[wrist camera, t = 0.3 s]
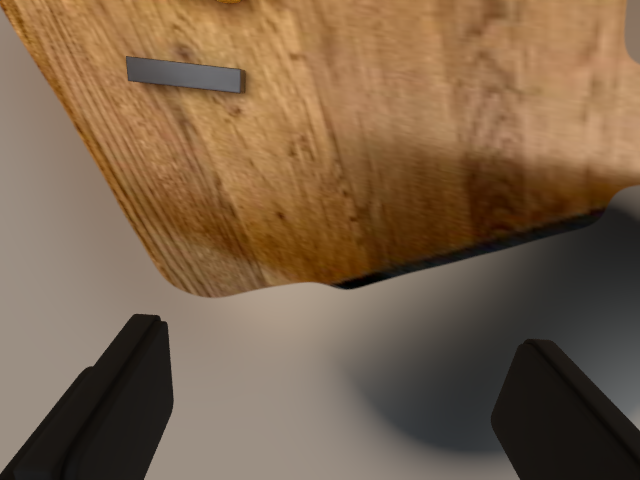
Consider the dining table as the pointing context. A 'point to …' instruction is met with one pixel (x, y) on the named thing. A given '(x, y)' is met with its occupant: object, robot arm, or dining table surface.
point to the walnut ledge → (185, 75)
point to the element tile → (229, 1)
